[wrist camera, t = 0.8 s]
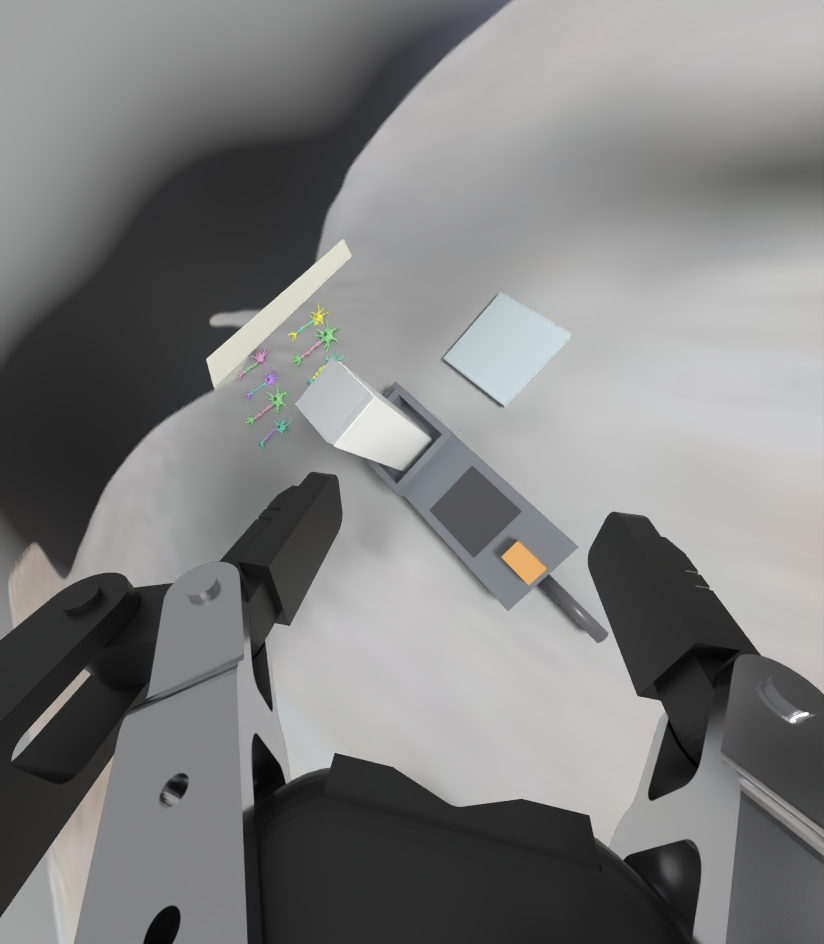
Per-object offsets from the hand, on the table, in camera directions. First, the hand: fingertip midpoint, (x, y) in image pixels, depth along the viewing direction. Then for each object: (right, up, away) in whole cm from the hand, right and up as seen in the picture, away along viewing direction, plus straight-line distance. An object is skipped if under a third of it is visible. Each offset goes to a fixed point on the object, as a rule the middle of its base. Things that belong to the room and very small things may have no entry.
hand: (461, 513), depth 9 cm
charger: (-2, +4, +23) cm, 23 cm away
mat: (+8, +14, +23) cm, 28 cm away
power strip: (+5, -2, +22) cm, 22 cm away
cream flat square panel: (-18, +14, +34) cm, 41 cm away
